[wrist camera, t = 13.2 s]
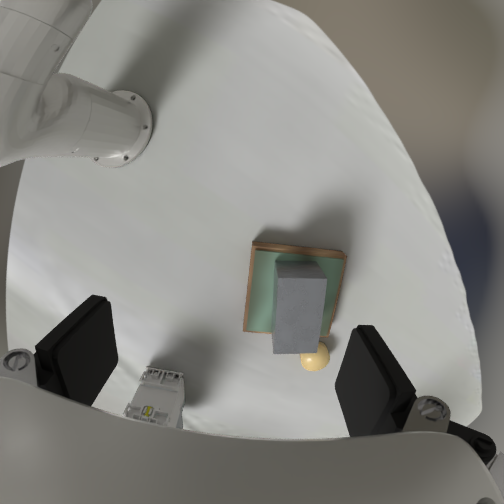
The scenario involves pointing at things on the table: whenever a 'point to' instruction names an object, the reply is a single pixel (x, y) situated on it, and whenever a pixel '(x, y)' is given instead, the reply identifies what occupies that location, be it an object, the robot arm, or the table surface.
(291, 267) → the block
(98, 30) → the table surface
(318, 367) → the cream dome
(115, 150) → the robot arm
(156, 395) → the circuit breaker
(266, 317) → the green board with frame
